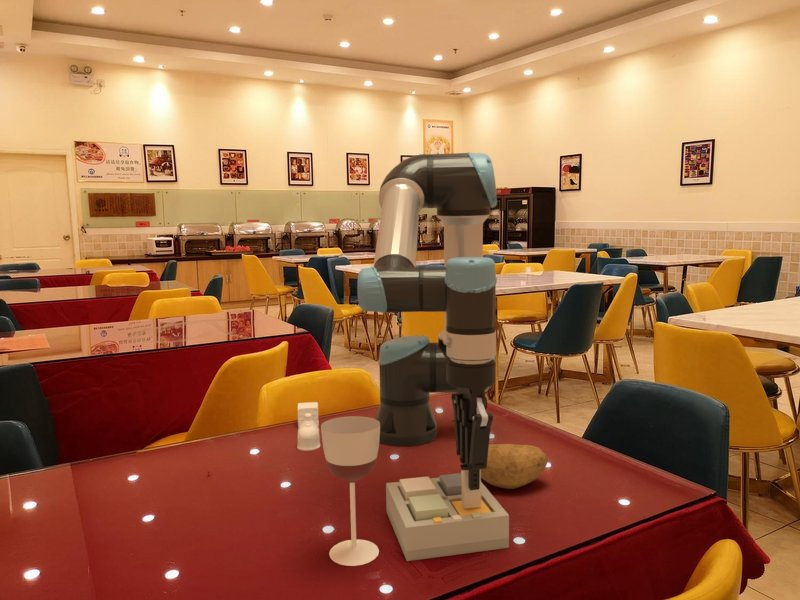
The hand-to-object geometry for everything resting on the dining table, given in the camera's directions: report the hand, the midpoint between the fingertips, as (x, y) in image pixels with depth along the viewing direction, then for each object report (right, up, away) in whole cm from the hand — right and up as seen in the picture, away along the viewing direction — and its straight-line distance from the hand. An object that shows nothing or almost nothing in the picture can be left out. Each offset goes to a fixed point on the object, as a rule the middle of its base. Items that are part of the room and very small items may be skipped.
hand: (471, 505), depth 95 cm
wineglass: (-18, -6, -3) cm, 19 cm away
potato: (+10, -3, +19) cm, 22 cm away
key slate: (-1, 0, +7) cm, 7 cm away
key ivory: (-8, -1, +6) cm, 10 cm away
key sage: (-7, -2, -1) cm, 7 cm away
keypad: (-4, -5, +3) cm, 7 cm away
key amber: (0, -3, 0) cm, 3 cm away
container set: (-33, 0, +49) cm, 59 cm away
